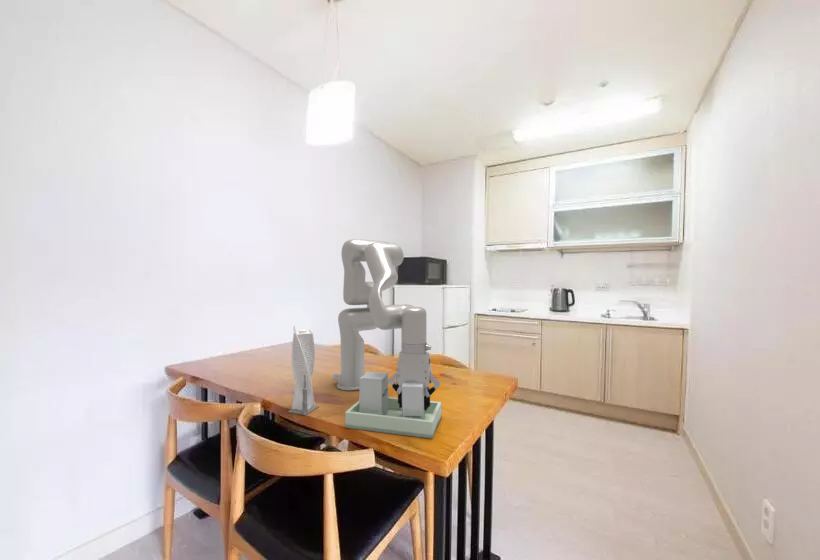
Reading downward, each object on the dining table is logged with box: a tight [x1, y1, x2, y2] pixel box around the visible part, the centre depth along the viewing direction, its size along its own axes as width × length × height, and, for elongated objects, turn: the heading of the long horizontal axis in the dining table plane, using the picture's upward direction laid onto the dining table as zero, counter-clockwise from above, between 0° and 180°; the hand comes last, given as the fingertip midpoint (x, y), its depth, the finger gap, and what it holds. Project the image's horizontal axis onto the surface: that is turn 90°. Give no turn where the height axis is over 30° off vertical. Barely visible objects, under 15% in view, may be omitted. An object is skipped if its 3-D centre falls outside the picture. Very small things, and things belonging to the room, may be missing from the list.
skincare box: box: [402, 382, 425, 420], centre depth 98 cm, size 10×6×10 cm, turn 174°
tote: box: [344, 396, 443, 440], centre depth 99 cm, size 26×15×4 cm, turn 75°
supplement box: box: [358, 371, 389, 415], centre depth 102 cm, size 7×7×13 cm
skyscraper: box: [287, 325, 320, 416], centre depth 110 cm, size 8×8×28 cm
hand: (413, 407), depth 98 cm, fingers closed on skincare box, 6 cm apart
